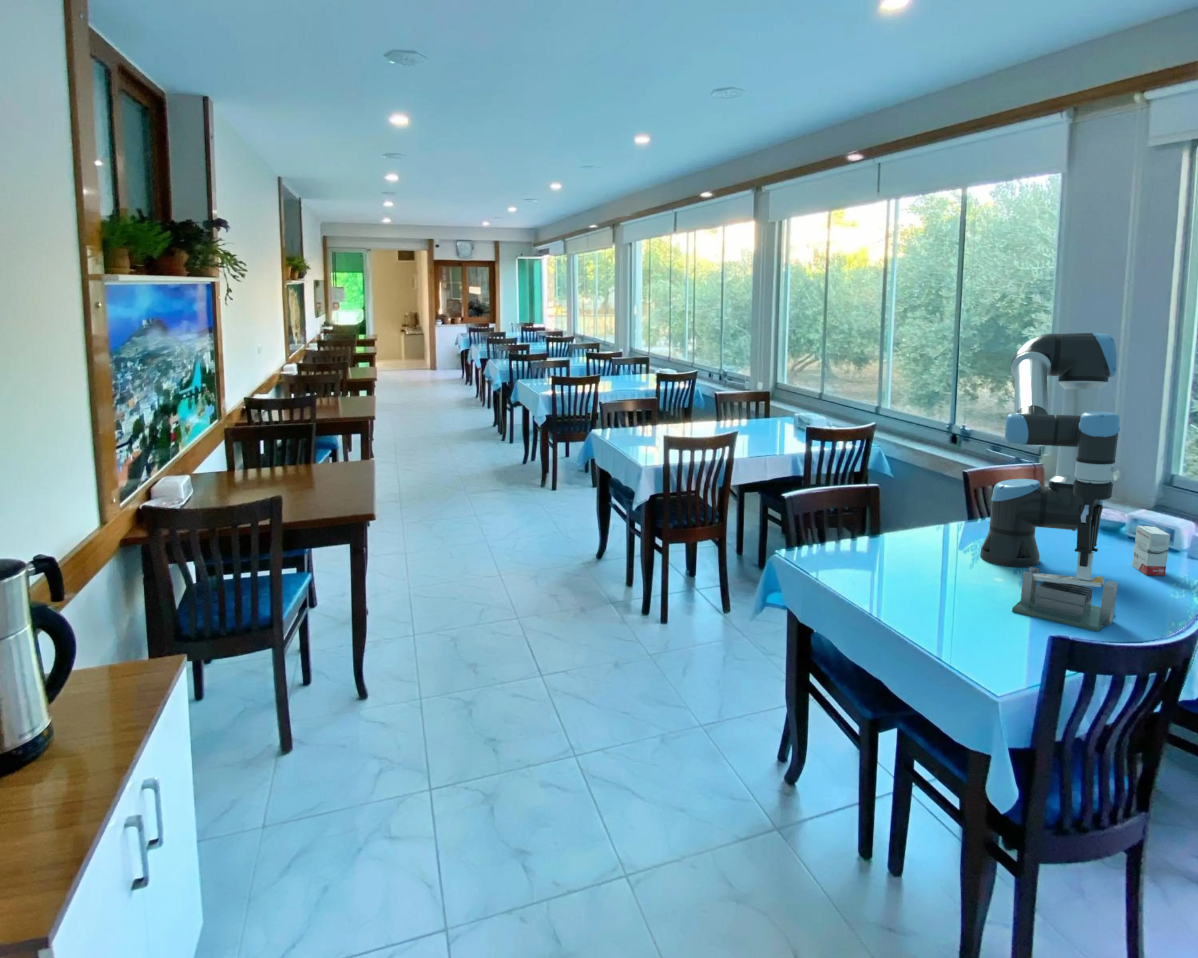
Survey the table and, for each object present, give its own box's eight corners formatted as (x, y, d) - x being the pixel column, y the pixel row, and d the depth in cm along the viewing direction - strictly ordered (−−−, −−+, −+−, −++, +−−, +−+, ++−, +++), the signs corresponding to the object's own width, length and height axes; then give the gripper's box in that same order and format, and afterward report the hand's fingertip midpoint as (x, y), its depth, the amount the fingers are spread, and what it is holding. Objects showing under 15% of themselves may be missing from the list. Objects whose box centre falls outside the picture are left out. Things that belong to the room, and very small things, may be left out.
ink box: (1166, 576, 206) (1172, 534, 204) (1145, 575, 207) (1151, 533, 205) (1150, 566, 215) (1155, 525, 212) (1130, 565, 216) (1136, 525, 213)
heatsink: (1012, 611, 186) (1015, 574, 184) (1029, 595, 195) (1033, 560, 193) (1103, 632, 173) (1108, 593, 170) (1117, 614, 182) (1122, 576, 180)
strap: (1026, 579, 187) (1025, 573, 187) (1030, 576, 189) (1030, 569, 189) (1100, 587, 176) (1100, 580, 176) (1104, 583, 178) (1104, 576, 178)
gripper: (1106, 486, 168) (1095, 589, 172) (1119, 477, 177) (1108, 574, 182) (1067, 482, 173) (1057, 582, 178) (1081, 473, 182) (1072, 568, 187)
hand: (1083, 578), depth 180 cm, fingers closed
